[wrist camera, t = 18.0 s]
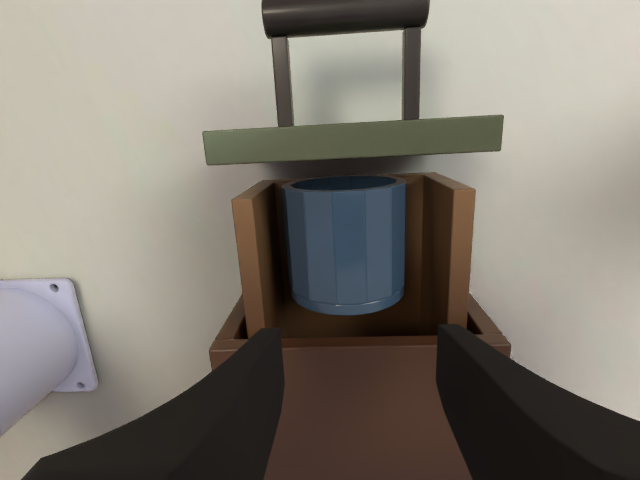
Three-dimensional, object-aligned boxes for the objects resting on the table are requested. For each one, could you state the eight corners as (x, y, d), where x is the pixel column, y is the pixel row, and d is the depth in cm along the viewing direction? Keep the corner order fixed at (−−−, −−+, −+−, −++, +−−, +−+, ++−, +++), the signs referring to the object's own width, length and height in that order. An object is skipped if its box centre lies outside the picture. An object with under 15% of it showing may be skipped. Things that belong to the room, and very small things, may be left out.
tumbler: (275, 313, 15) (264, 193, 14) (307, 267, 20) (301, 176, 19) (404, 320, 14) (405, 190, 13) (404, 270, 19) (405, 173, 18)
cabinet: (253, 273, 22) (207, 349, 15) (449, 267, 22) (512, 344, 14) (272, 454, 26) (245, 591, 18) (440, 453, 25) (485, 596, 18)
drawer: (234, 29, 18) (180, -24, 12) (454, 13, 17) (518, -51, 11) (267, 344, 23) (240, 422, 17) (440, 341, 22) (479, 421, 16)
